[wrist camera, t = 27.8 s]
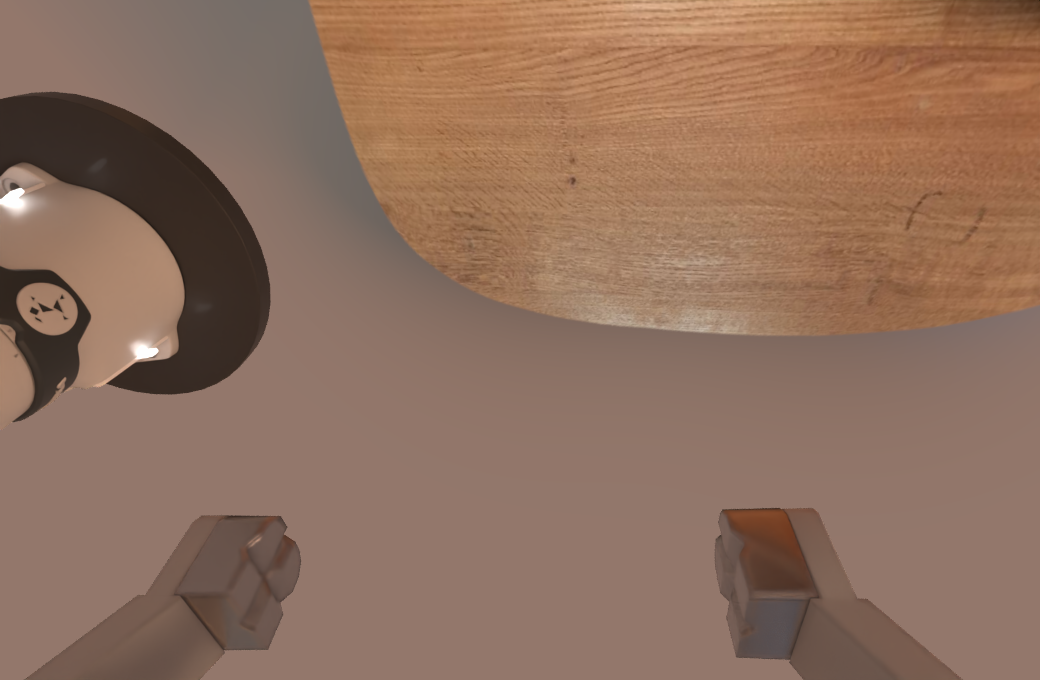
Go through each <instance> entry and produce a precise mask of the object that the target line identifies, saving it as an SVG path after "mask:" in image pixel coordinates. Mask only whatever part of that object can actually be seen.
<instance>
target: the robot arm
mask: <svg viewBox="0 0 1040 680" xmlns="http://www.w3.org/2000/svg"><path fill="white" fill-rule="evenodd" d="M19 187H20V188H19ZM184 300H185V290H184V283H183V279H182V275H181V272H180V269H179V267H178V264H177V262H176V260H175V258H174V256H173V255H172V253H171V251H170V250H169V248H168V246H167V245H166V244H165V242H164V241H163V240H162V238H161V237H160V236H159V235H158V234H157V232H156V231H155V230H154V229H153V228H152V227H151V226H150V225H149V224H148V223H147V222H146V221H145V220H144V219H142V218H141V217H140V216H139V215H138V214H136V213H135V212H134V211H133V210H131V209H130V208H128V207H127V206H125V205H124V204H122V203H121V202H119V201H117V200H115V199H113V198H111V197H109V196H107V195H105V194H103V193H100V192H98V191H95V190H92V189H89V188H85V187H80V186H76V185H72V184H68V183H65V182H63V181H60V180H58V179H57V178H55V177H54V176H52V175H50V174H49V173H47V172H45V171H44V170H42V169H40V168H38V167H36V166H34V165H32V164H29V163H25V162H22V163H18V164H16V165H14V166H12V167H10V168H8V169H7V170H6V171H5V172H4V173H3V174H2V175H1V176H0V431H1V430H2V429H3V428H5V427H6V426H7V425H8V424H10V423H11V422H16V421H21V420H23V419H25V418H27V417H29V416H31V415H32V414H34V413H35V412H37V411H39V410H40V409H42V408H45V407H46V406H48V405H49V404H51V403H52V402H53V401H55V400H56V399H57V398H58V397H59V396H60V394H61V393H64V392H67V391H69V390H71V389H73V388H81V389H88V388H91V387H93V386H95V387H100V386H102V385H104V384H106V383H107V382H109V381H110V380H112V379H113V378H114V377H116V376H117V375H119V374H120V373H121V372H123V371H124V370H125V369H127V368H128V367H130V366H131V365H132V364H134V363H135V362H144V361H153V360H162V359H167V358H170V357H171V356H173V355H174V354H176V353H177V352H178V349H179V340H178V333H177V323H178V320H179V318H180V316H181V313H182V310H183V307H184ZM718 523H719V527H720V531H721V535H720V536H719V537H718V538H717V539H716V543H715V567H716V573H717V580H718V584H719V588H720V593H721V594H722V595H723V596H724V597H725V598H726V599H727V600H728V601H729V608H728V613H727V621H728V626H729V630H730V634H731V638H732V642H733V646H734V650H735V654H736V657H739V658H762V659H785V660H790V662H789V663H790V664H791V665H792V666H793V667H794V669H795V670H796V671H797V672H798V674H799V675H800V676H801V677H802V678H803V680H963V679H961V678H960V677H959V676H958V675H957V674H955V673H954V672H953V671H952V670H951V669H950V668H948V667H947V666H946V665H945V664H944V663H942V662H941V661H940V660H939V659H938V658H936V657H935V656H934V655H933V654H932V653H931V652H929V651H928V650H927V649H926V648H925V647H924V646H922V645H921V644H920V643H919V642H918V641H916V640H915V639H914V638H913V637H912V636H910V635H909V634H908V633H907V632H906V631H905V630H903V629H902V628H901V627H900V626H898V625H897V624H896V623H895V622H894V621H893V620H892V619H890V618H889V617H888V616H887V615H886V614H884V613H883V612H882V611H881V610H880V609H879V608H877V607H876V606H875V605H874V604H873V603H871V602H870V601H869V600H868V599H857V597H856V594H855V592H854V590H853V588H852V586H851V583H850V581H849V579H848V577H847V575H846V573H845V570H844V568H843V566H842V564H841V561H840V559H839V557H838V555H837V553H836V550H835V548H834V546H833V544H832V542H831V540H830V537H829V535H828V533H827V531H826V529H825V526H824V524H823V522H822V520H821V517H820V515H819V513H818V512H817V511H816V510H814V509H813V508H803V509H802V508H799V509H798V508H797V509H780V508H765V509H764V508H762V509H728V510H727V509H726V510H722V511H721V513H720V516H719V522H718ZM286 529H287V526H286V524H285V522H284V521H283V519H282V518H281V516H228V515H219V516H218V515H217V516H201V517H199V518H198V519H197V520H195V521H194V522H193V523H192V524H191V526H190V527H189V529H188V530H187V532H186V533H185V535H184V537H183V538H182V540H181V541H180V543H179V544H178V546H177V547H176V549H175V550H174V552H173V553H172V555H171V556H170V558H169V559H168V561H167V563H166V564H165V566H164V567H163V569H162V570H161V572H160V573H159V575H158V576H157V578H156V579H155V581H154V582H153V584H152V586H151V587H150V589H149V590H148V592H147V593H146V595H138V596H136V597H135V598H133V599H132V600H131V601H129V602H128V603H127V604H125V605H124V606H123V607H121V608H120V609H119V610H117V611H116V612H115V613H113V614H112V615H111V616H109V617H108V618H107V619H105V620H104V621H103V622H101V623H100V624H99V625H97V626H96V627H95V628H93V629H92V630H90V631H89V632H88V633H86V634H85V635H84V636H82V637H81V638H80V639H78V640H77V641H76V642H74V643H73V644H72V645H71V646H69V647H68V648H66V649H65V650H64V651H62V652H61V653H60V654H59V655H57V656H56V657H54V658H53V659H52V660H50V661H49V662H48V663H46V664H45V665H43V666H42V667H41V668H40V669H38V670H37V671H35V672H34V673H33V674H31V675H30V676H29V677H27V678H26V679H25V680H200V679H201V678H202V677H203V675H204V674H205V673H206V672H207V671H208V670H209V669H210V668H211V667H212V666H213V665H214V664H215V663H216V662H217V661H218V660H219V659H220V657H221V656H222V655H223V654H224V653H225V652H224V650H268V649H269V646H270V644H271V642H272V639H273V637H274V635H275V632H276V630H277V628H278V625H279V623H280V620H281V618H282V616H283V611H282V607H281V601H283V600H284V599H285V598H286V597H287V596H288V595H289V594H291V593H292V592H293V590H294V587H295V585H296V582H297V580H298V577H299V572H300V565H301V557H300V551H299V548H298V546H297V544H296V542H295V541H293V540H292V539H290V538H289V537H287V536H286V535H284V533H285V531H286Z"/></svg>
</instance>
